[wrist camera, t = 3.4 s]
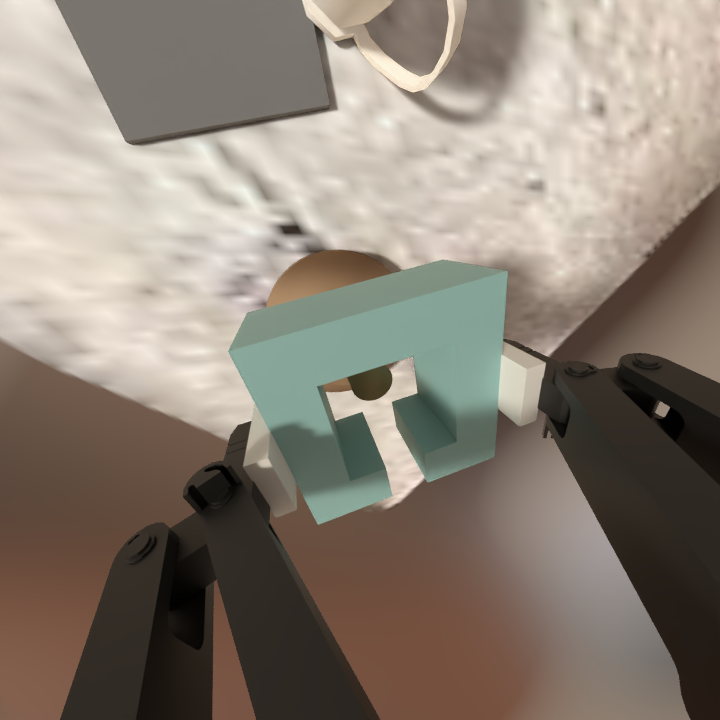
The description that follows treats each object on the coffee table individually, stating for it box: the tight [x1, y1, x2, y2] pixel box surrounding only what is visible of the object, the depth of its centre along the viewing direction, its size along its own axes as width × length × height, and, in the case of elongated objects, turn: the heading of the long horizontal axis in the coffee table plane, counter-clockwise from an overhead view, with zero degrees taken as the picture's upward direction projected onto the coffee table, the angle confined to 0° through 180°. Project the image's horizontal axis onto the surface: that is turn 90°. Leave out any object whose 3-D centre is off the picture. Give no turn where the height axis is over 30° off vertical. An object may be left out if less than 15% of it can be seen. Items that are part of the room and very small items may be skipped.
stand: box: [266, 250, 394, 401], centre depth 18 cm, size 12×12×10 cm
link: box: [228, 260, 508, 525], centre depth 12 cm, size 9×9×4 cm
